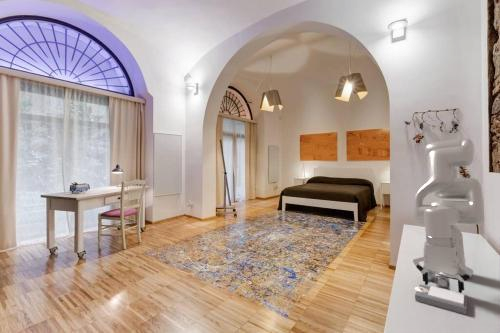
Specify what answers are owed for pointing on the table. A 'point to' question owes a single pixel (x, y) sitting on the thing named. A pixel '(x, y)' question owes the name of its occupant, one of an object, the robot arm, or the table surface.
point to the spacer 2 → (442, 282)
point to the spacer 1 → (431, 276)
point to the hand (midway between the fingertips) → (443, 287)
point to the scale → (442, 298)
